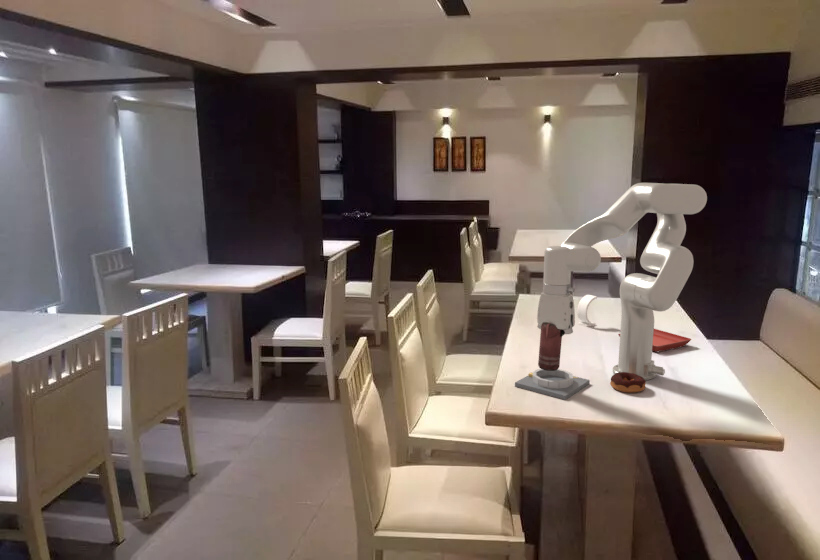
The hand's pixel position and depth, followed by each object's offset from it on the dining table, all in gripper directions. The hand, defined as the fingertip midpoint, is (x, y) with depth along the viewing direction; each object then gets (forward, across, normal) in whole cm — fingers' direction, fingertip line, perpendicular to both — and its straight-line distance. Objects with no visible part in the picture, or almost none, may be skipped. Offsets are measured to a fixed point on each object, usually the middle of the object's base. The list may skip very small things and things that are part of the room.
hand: (553, 350), depth 173 cm
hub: (+11, 0, 0) cm, 11 cm away
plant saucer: (+11, -9, -61) cm, 63 cm away
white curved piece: (+11, +21, -70) cm, 74 cm away
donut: (+11, -18, -12) cm, 24 cm away
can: (+6, +1, 0) cm, 6 cm away
